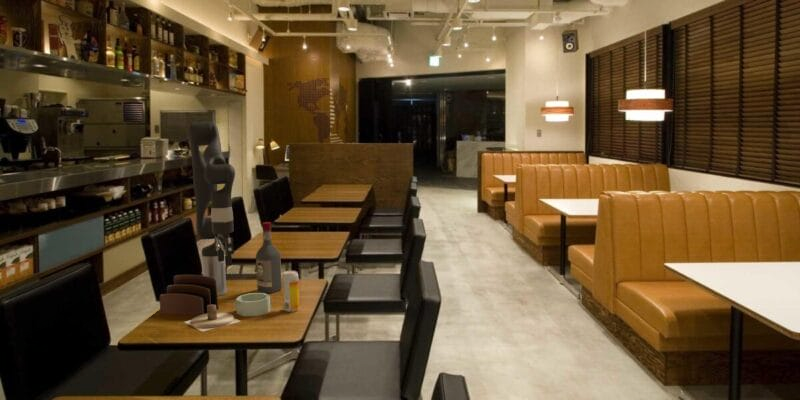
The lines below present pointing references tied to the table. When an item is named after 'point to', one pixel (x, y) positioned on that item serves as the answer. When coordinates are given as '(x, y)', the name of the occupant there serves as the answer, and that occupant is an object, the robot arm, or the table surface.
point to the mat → (211, 328)
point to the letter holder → (189, 295)
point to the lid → (212, 319)
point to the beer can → (291, 291)
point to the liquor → (268, 264)
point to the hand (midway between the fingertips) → (224, 263)
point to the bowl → (253, 304)
